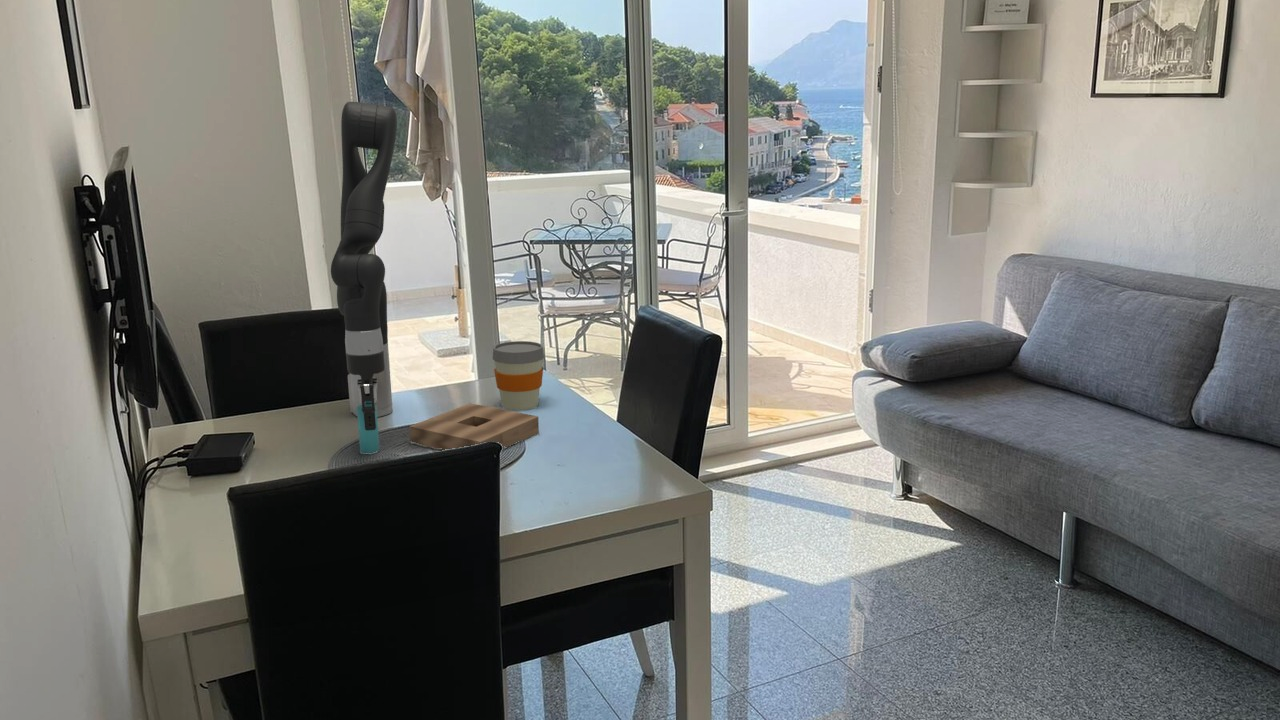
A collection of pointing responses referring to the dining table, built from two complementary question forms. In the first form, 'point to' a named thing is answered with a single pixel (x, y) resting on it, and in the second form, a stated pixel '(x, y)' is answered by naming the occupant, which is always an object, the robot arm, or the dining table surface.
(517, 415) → the socket block
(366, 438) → the peg
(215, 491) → the dining table surface
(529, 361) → the reusable coffee cup
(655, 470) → the dining table surface
